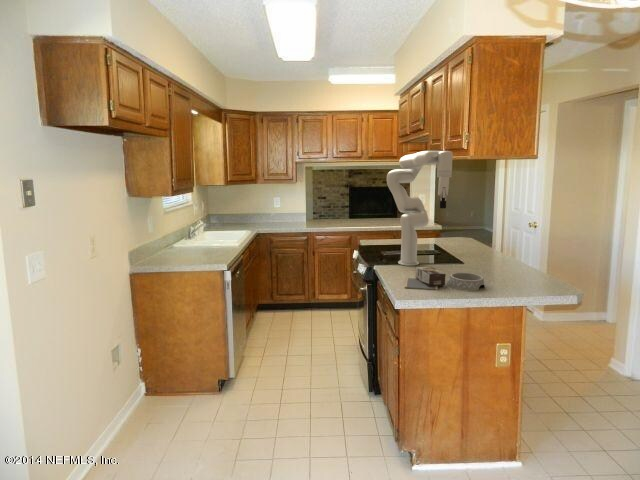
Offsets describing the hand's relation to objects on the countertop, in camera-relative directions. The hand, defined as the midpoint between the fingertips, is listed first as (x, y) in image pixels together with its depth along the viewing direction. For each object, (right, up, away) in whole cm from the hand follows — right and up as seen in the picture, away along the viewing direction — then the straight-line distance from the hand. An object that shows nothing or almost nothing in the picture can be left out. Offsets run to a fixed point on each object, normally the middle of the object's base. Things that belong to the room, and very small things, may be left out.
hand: (442, 208), depth 248 cm
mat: (-15, -40, -14) cm, 45 cm away
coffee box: (-12, -35, -5) cm, 37 cm away
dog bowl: (+7, -41, -17) cm, 45 cm away
